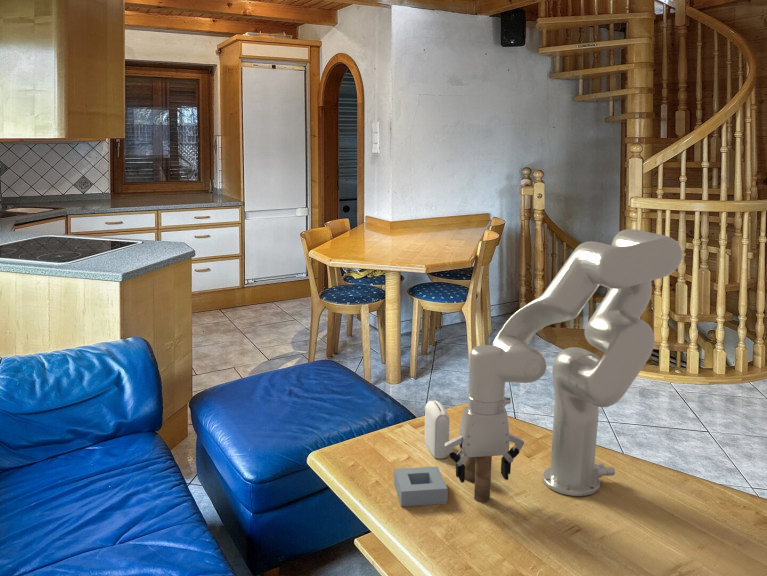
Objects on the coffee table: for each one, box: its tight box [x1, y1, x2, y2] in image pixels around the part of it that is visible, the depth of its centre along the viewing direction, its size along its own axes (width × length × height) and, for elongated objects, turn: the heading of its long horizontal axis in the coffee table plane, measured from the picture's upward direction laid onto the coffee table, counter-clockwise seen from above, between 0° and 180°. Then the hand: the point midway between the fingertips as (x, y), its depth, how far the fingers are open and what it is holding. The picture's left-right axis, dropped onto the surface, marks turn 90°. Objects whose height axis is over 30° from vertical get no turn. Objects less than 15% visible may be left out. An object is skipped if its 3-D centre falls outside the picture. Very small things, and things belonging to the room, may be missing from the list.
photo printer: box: [424, 400, 450, 460], centre depth 170 cm, size 10×4×12 cm, turn 12°
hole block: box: [393, 465, 448, 507], centre depth 150 cm, size 10×10×4 cm
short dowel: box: [464, 457, 476, 483], centre depth 157 cm, size 3×3×6 cm
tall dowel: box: [473, 456, 493, 503], centre depth 147 cm, size 3×3×12 cm
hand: (482, 478), depth 147 cm, fingers open, 9 cm apart
